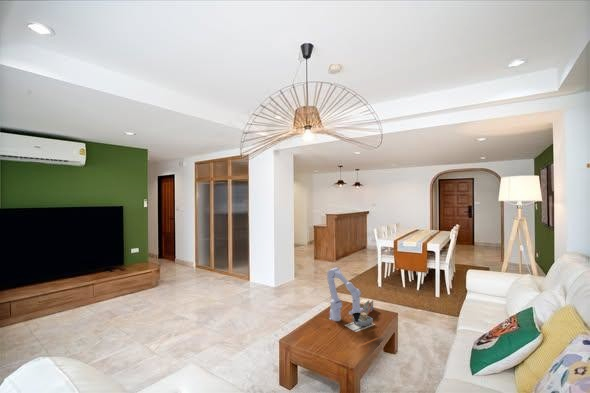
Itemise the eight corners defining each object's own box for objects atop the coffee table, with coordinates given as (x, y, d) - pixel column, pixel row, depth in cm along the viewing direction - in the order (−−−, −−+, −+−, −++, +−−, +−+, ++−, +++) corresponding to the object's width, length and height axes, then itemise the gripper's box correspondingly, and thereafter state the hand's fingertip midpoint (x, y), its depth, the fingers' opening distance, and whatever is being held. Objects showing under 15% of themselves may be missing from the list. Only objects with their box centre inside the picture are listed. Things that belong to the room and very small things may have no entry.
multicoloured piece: (366, 308, 265) (366, 295, 265) (373, 309, 261) (373, 296, 261) (357, 316, 248) (357, 302, 248) (363, 318, 244) (363, 304, 244)
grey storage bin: (352, 322, 233) (352, 317, 233) (362, 319, 239) (362, 313, 239) (362, 328, 224) (362, 322, 224) (372, 324, 230) (372, 318, 230)
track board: (344, 326, 230) (344, 325, 230) (363, 319, 241) (363, 318, 241) (355, 333, 219) (355, 331, 219) (375, 325, 230) (375, 324, 230)
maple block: (363, 318, 235) (363, 312, 235) (367, 320, 232) (367, 314, 232) (360, 319, 233) (360, 313, 233) (363, 321, 230) (363, 315, 229)
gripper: (353, 308, 220) (353, 325, 221) (366, 304, 228) (366, 321, 228) (346, 305, 226) (347, 322, 227) (359, 301, 234) (360, 317, 234)
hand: (356, 321), depth 228 cm, fingers closed
